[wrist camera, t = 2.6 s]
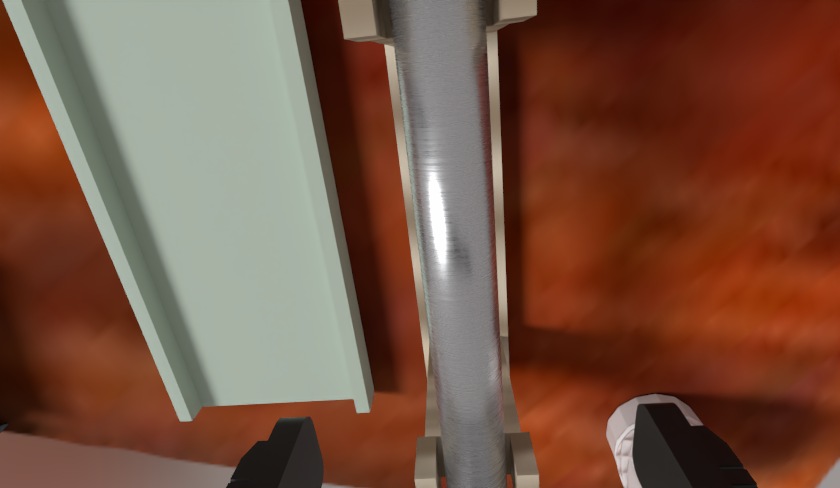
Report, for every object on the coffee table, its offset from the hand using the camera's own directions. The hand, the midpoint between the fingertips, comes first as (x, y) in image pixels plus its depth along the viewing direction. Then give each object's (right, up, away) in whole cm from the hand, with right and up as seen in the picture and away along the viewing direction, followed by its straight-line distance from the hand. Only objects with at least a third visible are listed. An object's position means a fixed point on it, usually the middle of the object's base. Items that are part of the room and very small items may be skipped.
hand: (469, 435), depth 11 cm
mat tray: (-14, +6, +19) cm, 24 cm away
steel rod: (0, +3, +7) cm, 7 cm away
